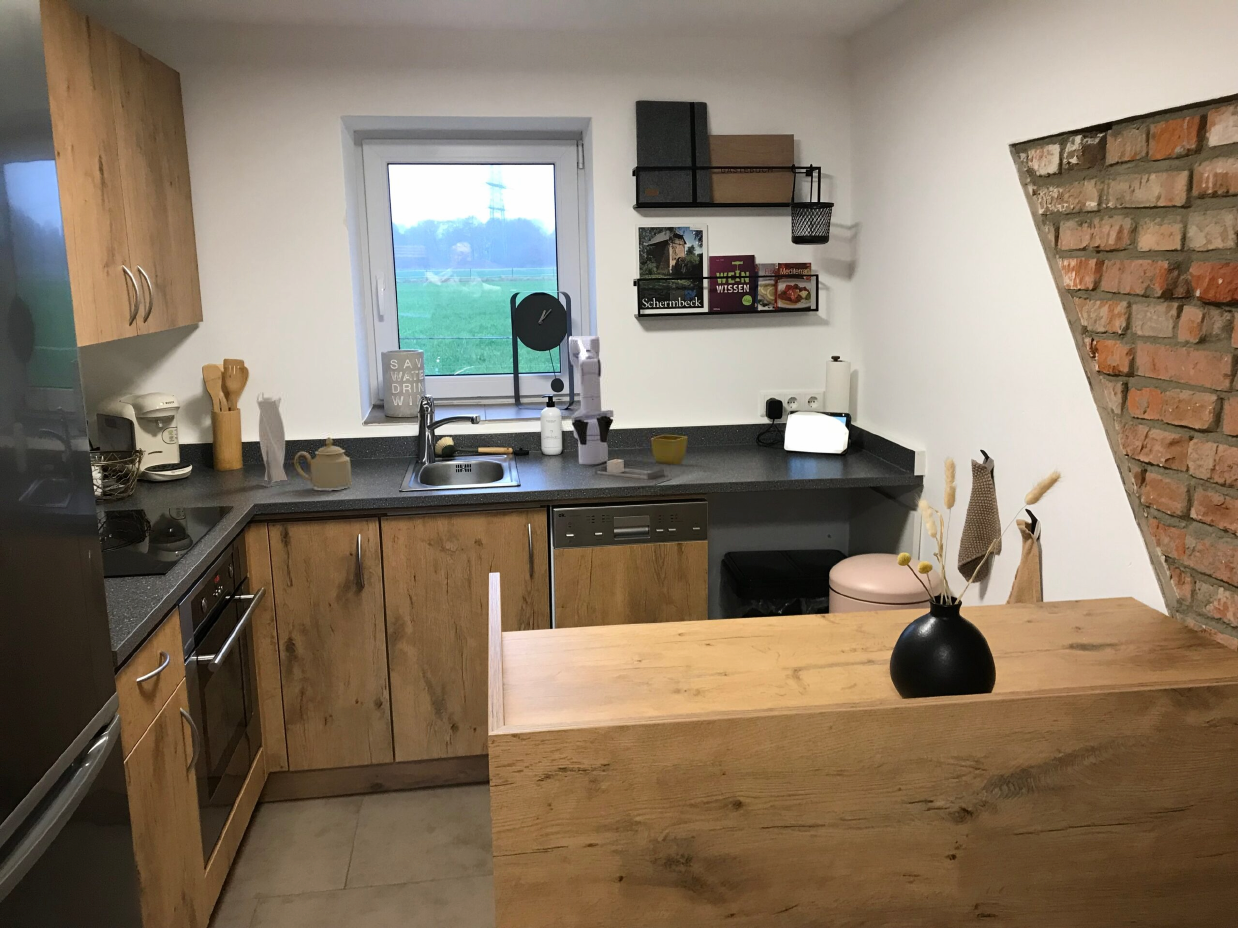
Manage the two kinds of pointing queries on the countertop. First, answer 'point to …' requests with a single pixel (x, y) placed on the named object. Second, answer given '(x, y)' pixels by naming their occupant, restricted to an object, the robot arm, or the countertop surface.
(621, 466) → the fader knob
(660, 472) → the fader console
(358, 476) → the countertop surface
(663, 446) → the flower pot
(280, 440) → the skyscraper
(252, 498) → the countertop surface
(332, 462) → the sugar bowl
